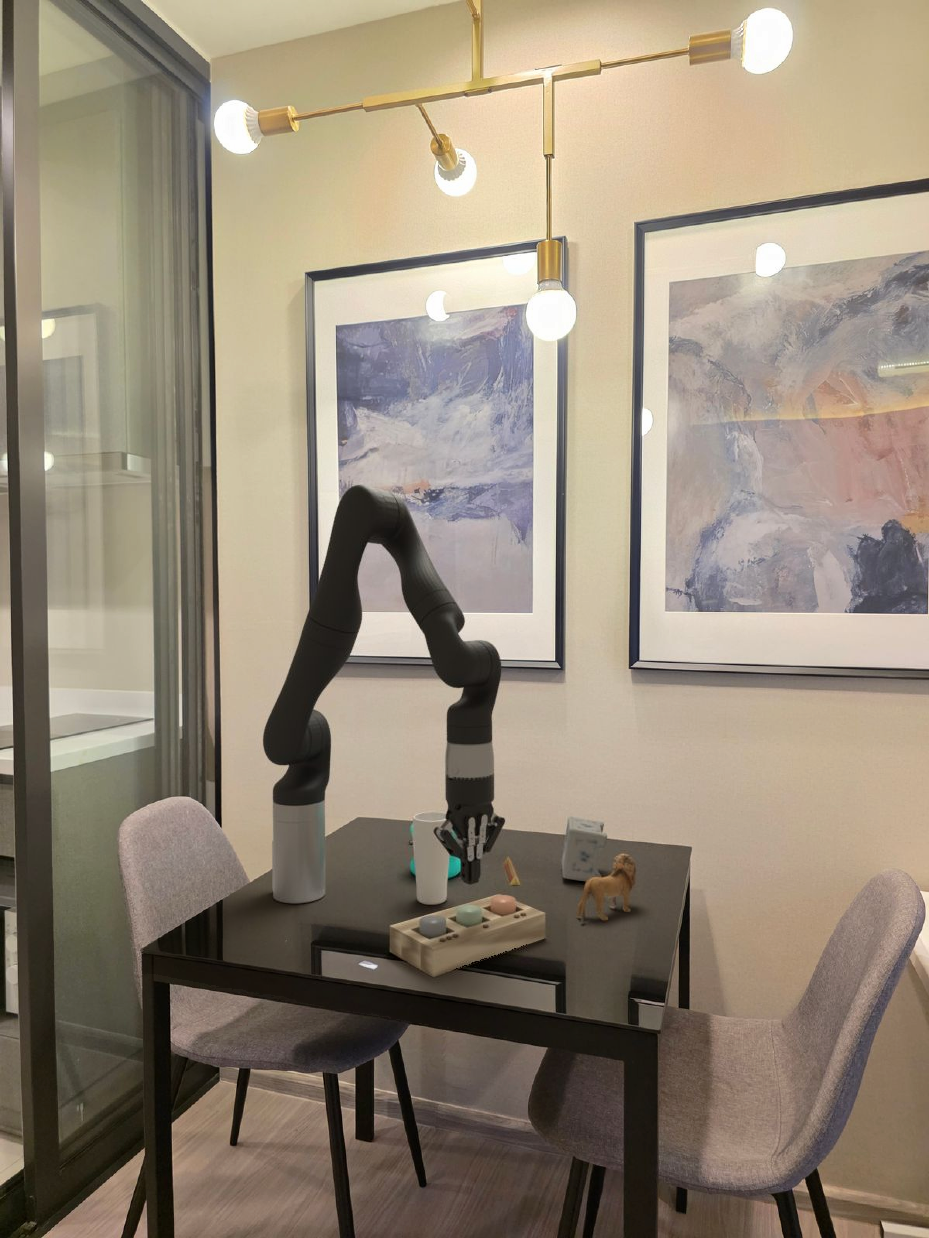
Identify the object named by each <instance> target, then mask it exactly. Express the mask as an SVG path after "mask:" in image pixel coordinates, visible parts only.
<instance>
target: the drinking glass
mask: <svg viewBox="0 0 929 1238" xmlns="http://www.w3.org/2000/svg"><path fill="white" fill-rule="evenodd" d="M446 813H447V812H441V811H440V812H439V811H425V812H419V813H416V814H414V815H413V817H412V819H413V820H412V824H413V837H412V841H413V844H412V846H413V847H412V848H413V858H414V861H415V874H416V875H415V882H416V884H415V885H416V887H415V888H416V900H417V901H418V902H419V903H420V904H423V905H429V906H430V905H431V906H435V905H441V904H443V903H444V902H446V900H447V899H448V880H449V878H448V868H449V856H450V855H449V853H448V852H447V850H446V849H445V848H444V846H443V845H442V844H441V842H440V841H439V840H438V838H437V837H436V836H435V834H434V828H435V827H441V826H442V824H443V823H444V822H445V821H446Z"/></svg>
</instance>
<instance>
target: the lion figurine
mask: <svg viewBox="0 0 929 1238" xmlns="http://www.w3.org/2000/svg"><path fill="white" fill-rule="evenodd" d="M636 865H637V864H636V862H635V860H634V859H633V858H632V856H631V855H630V854H627V853H620V854H618V855H616V856H615V857H614V859H613V865H612V872H611V874H609V875H608V876H603V877H602V876H601V877H602V878H601V877H593V878H591V879H589V880H588V881H587V882H586V881H585V884H584V886H583V887H584V888H583V892H582V898H581V900H580V903H578V905H577V914H576V917H577V918H578V919H580V922H581V923H584V922H585V921H586V905H587V904H588V902H590V899H592V898H593V900H594V902H595V907H596V909H595V913H596V915H598V917H599V919H600V920H601V921H608V920H609V917H608V915H606V914H604V913H603V907H604V902H605V899H609V900H610V901H609V908H610V909H613V910H614V909H616V908H617V905H618V904H617V900H616V899H617V898H616V897H618V896H620V895H621V897H622V910H623V912H626V913H631V908H630V907H629V900H630V891H632V889H634V886H635V884H636V876H637V875H636V874H637V873H636V872H637V867H636Z"/></svg>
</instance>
